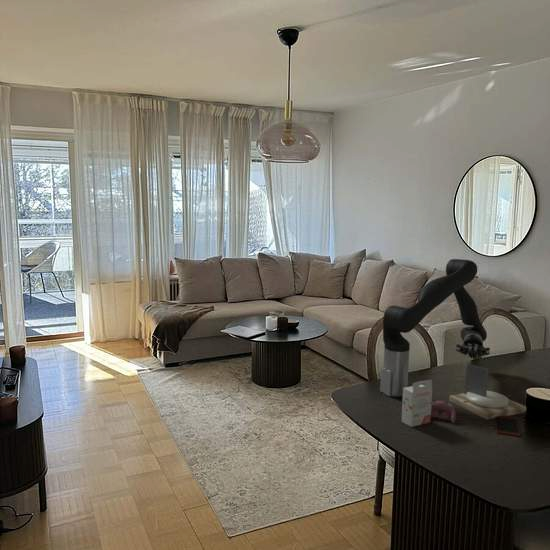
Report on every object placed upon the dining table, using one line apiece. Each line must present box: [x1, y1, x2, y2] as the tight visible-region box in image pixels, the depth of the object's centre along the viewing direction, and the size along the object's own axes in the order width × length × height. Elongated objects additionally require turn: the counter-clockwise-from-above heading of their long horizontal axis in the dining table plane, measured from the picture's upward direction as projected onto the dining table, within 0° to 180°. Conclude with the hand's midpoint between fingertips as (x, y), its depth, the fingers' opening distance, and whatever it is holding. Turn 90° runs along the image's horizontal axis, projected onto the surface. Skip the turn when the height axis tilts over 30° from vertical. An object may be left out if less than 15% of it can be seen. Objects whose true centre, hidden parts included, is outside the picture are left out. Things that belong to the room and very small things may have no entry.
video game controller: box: [431, 400, 457, 424], centre depth 173 cm, size 10×5×7 cm, turn 71°
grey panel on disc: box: [464, 363, 510, 408], centre depth 184 cm, size 15×14×11 cm
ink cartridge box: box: [401, 379, 433, 428], centre depth 169 cm, size 9×5×15 cm, turn 117°
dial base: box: [448, 389, 527, 421], centre depth 184 cm, size 18×18×2 cm
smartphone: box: [493, 416, 522, 438], centre depth 168 cm, size 7×1×15 cm
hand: (472, 355), depth 194 cm, fingers closed
